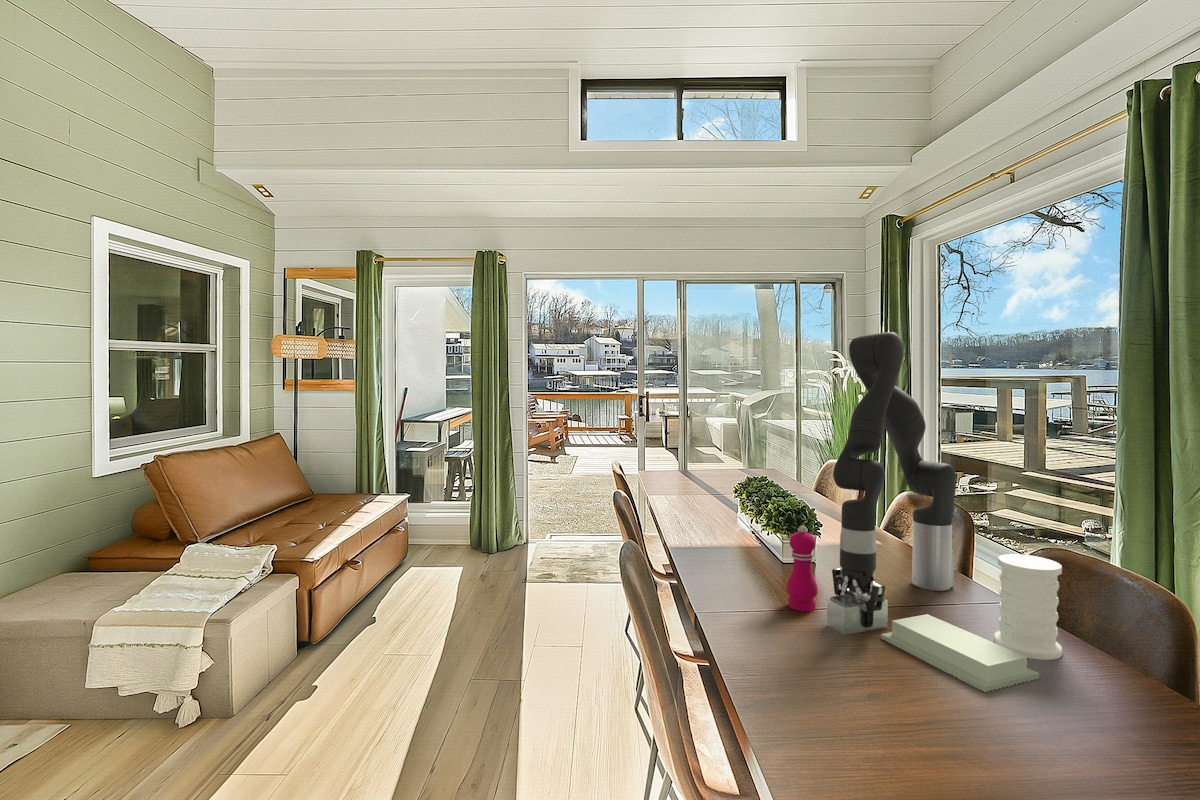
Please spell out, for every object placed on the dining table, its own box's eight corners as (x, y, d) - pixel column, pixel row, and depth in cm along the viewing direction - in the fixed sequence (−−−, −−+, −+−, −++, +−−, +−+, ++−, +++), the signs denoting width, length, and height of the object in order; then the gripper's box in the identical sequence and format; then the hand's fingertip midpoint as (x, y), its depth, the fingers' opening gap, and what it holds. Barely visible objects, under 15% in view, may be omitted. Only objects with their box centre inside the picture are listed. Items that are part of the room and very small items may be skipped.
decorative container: (1050, 639, 132) (1052, 556, 131) (1071, 663, 121) (1073, 573, 120) (987, 632, 135) (989, 551, 135) (1002, 655, 124) (1004, 567, 124)
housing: (869, 618, 144) (869, 590, 143) (887, 627, 138) (887, 598, 138) (827, 625, 140) (827, 596, 139) (844, 635, 134) (844, 605, 134)
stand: (930, 628, 137) (930, 611, 137) (1039, 678, 115) (1039, 657, 115) (880, 638, 132) (881, 620, 132) (984, 692, 110) (985, 670, 110)
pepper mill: (819, 613, 147) (820, 530, 146) (787, 611, 148) (788, 528, 147) (815, 602, 154) (816, 522, 153) (785, 600, 155) (785, 521, 154)
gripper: (896, 554, 133) (895, 631, 133) (848, 538, 146) (847, 608, 147) (868, 558, 130) (867, 636, 131) (822, 541, 144) (821, 612, 144)
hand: (856, 621), depth 139 cm, fingers closed on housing, 5 cm apart
